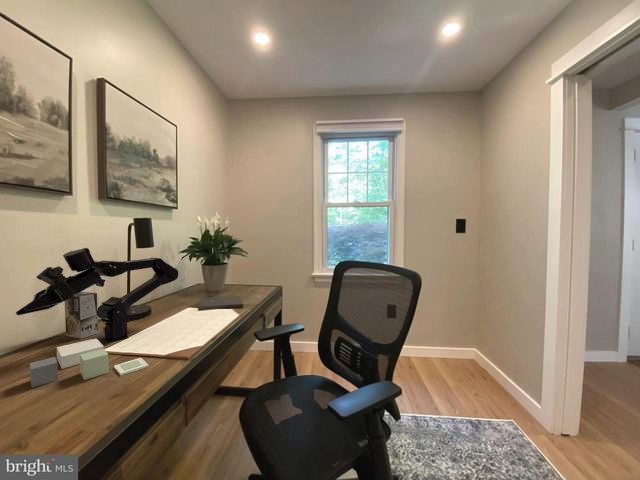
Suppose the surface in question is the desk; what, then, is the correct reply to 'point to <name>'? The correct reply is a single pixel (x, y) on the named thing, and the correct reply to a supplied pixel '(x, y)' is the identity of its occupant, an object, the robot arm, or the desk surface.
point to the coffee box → (81, 315)
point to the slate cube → (43, 372)
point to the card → (130, 366)
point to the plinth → (76, 352)
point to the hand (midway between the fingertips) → (20, 311)
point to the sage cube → (94, 364)
